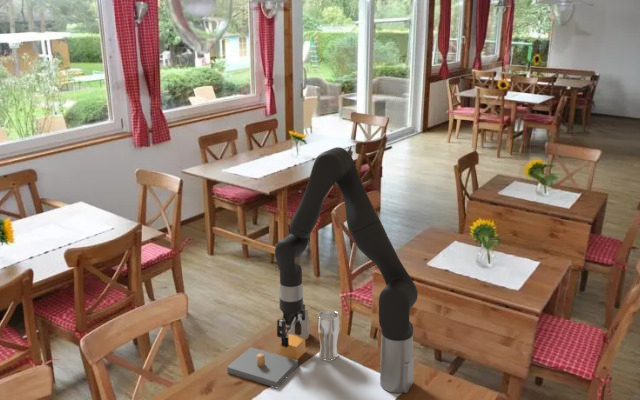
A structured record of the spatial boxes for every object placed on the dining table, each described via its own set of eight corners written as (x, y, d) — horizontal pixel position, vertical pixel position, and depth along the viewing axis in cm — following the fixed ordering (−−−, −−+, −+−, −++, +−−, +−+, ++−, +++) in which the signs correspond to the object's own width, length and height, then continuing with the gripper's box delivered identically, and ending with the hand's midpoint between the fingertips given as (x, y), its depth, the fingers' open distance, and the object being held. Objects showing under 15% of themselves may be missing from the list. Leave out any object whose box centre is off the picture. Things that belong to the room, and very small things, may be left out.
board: (298, 366, 187) (297, 350, 186) (276, 387, 176) (276, 371, 175) (250, 352, 195) (249, 337, 194) (227, 372, 184) (226, 357, 182)
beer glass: (339, 350, 196) (339, 309, 191) (338, 362, 189) (338, 320, 185) (318, 349, 196) (318, 309, 192) (316, 361, 190) (316, 319, 185)
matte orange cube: (305, 351, 195) (305, 338, 194) (296, 360, 190) (296, 346, 189) (289, 347, 198) (289, 334, 196) (280, 356, 193) (280, 342, 191)
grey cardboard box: (307, 339, 203) (307, 312, 200) (288, 338, 204) (287, 311, 201) (309, 333, 207) (308, 307, 204) (290, 332, 207) (289, 306, 204)
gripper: (290, 307, 180) (290, 353, 185) (312, 288, 192) (312, 333, 197) (269, 302, 184) (270, 347, 188) (292, 284, 196) (292, 327, 200)
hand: (291, 340), depth 193 cm, fingers open, 8 cm apart
